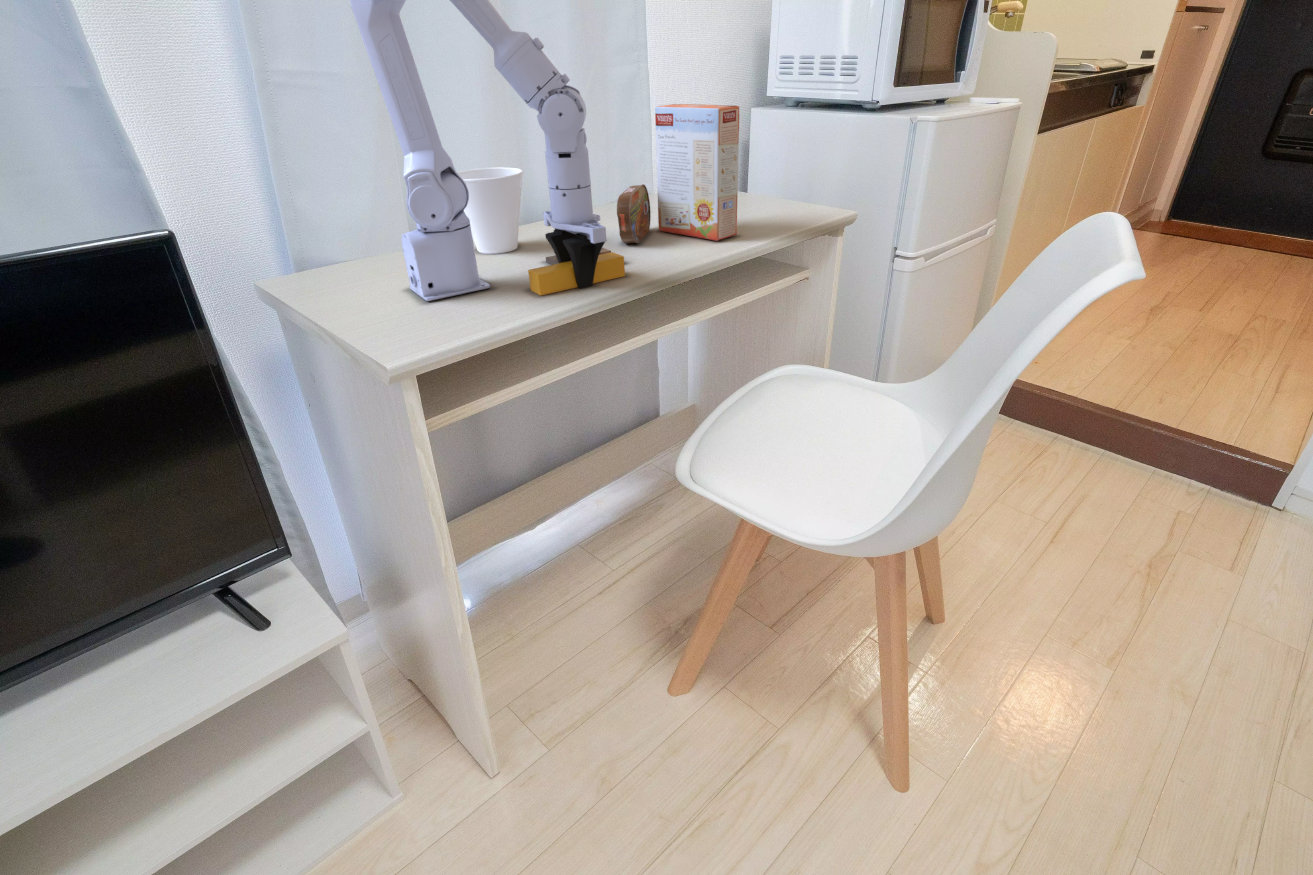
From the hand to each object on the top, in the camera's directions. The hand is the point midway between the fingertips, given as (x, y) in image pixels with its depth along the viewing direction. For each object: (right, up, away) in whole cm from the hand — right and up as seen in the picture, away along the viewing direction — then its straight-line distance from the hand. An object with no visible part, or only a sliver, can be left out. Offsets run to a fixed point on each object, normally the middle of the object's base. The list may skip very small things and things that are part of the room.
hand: (578, 283), depth 101 cm
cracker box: (+19, +14, +24) cm, 33 cm away
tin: (+8, +13, +22) cm, 27 cm away
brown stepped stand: (0, +5, +9) cm, 11 cm away
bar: (0, 0, 0) cm, 0 cm away
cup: (-16, +10, +19) cm, 27 cm away
